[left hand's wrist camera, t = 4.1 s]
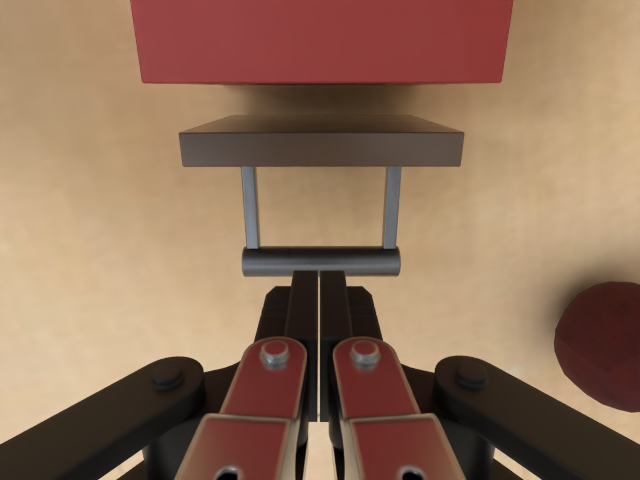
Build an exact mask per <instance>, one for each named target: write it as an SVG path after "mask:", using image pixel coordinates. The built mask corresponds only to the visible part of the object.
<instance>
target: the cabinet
mask: <svg viewBox="0 0 640 480" xmlns="http://www.w3.org/2000/svg"><path fill="white" fill-rule="evenodd" d="M130 2H131V9H132V16H133V23H134V29H135V36H136V43H137V50H138V57H139V64H140V71H141V78H142V82H143V83H155V84H207V83H434V84H473V83H500V82H501V81H502V74H503V67H504V60H505V53H506V46H507V39H508V33H509V26H510V19H511V12H512V5H513V0H130ZM208 85H239V84H208ZM398 85H424V84H398Z"/></svg>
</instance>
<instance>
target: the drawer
mask: <svg viewBox="0 0 640 480" xmlns="http://www.w3.org/2000/svg"><path fill="white" fill-rule="evenodd" d="M207 84H239V85H398V84H434V83H207ZM179 140H180V148H181V157H182V165H183V167H241V173H242V187H243V202H244V216H245V231H246V245H247V246H245V247H244V249H243V253H242V271H243V275H244V276H245V277H293V271H294V270H318V277H320V270H344V272H345V277H364V276H398V275H399V273H400V266H401V258H400V251H399V248H398V247H397V246H396V237H397V222H398V208H399V194H400V179H401V167H459V166H460V165H461V157H462V149H463V141H464V132H461V131H458V130H455V129H451V128H448V127H445V126H442V125H439V124H436V123H433V122H429V121H426V120H423V119H420V118H417V117H414V116H411V115H371V116H229V117H226V118H223V119H220V120H216V121H213V122H210V123H207V124H204V125H201V126H198V127H195V128H192V129H189V130H186V131H183V132H180V133H179ZM256 167H386V177H385V194H384V212H383V230H382V246H260V244H261V243H260V225H259V208H258V190H257V172H256Z"/></svg>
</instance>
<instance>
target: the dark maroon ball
mask: <svg viewBox="0 0 640 480" xmlns="http://www.w3.org/2000/svg"><path fill="white" fill-rule="evenodd" d="M554 349H555V353H556V356H557V359H558V362H559V364H560V366H561V368H562V370H563V372H564V374H565V375H566V376H567V377H568V378H569V379H570V380H571V381H572V382H573V383H574V384H575V385H576V386H578V387H579V388H580V389H581V390H582V391H583V392H584V393H586V394H587V395H588V396H590V397H592V398H593V399H595V400H596V401H598V402H600V403H601V404H603V405H606V406H609V407H612V408H615V409H618V410H622V411H627V412H631V413H632V412H640V284H635V283H629V282H607V283H602V284H597V285H594V286H592V287H591V288H589V289H587V290H585V291H584V292H582V293H580V294H579V295H578V296H577V297H576V298H575V299H574V301H573V302H572V303H571V304H570V305H569V306H568V307H567V308H566V310H565V311H564V313H563V315H562V317H561V319H560V321H559V323H558V325H557V327H556V329H555V339H554Z"/></svg>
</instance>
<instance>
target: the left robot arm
mask: <svg viewBox="0 0 640 480" xmlns="http://www.w3.org/2000/svg"><path fill="white" fill-rule="evenodd" d="M317 391H318V270H294V271H293V278H292V285H291V286H275V287H274V288H273V289H272V290H271V291H270V292H269V293H268V294H267V295H266V298H265V301H264V307H263V309H262V314H261V317H260V321H259V324H258V328H257V332H256V336H255V340H254V343H253V344H251V345H250V346H249V347H248V348H247V349H246V350H245V352H244V354H243V356H242V359H241V361H239V362H238V363H236V364H234V365H231V366H228V367H225V368H222V369H217V370H213V371H208V372H204V371H203V367H202V365H201V364H200V363H199V362H198V361H196V360H194V359H192V358H189V357H179V356H177V357H168V358H164V359H160V360H157V361H155V362H153V363H150V364H148V365H147V366H145V367H143V368H141V369H139V370H137V371H135V372H134V373H132V374H130V375H128V376H126V377H124V378H122V379H121V380H119V381H117V382H115V383H113V384H111V385H110V386H108V387H106V388H104V389H102V390H100V391H98V392H97V393H95V394H93V395H91V396H89V397H87V398H85V399H84V400H82V401H80V402H78V403H76V404H74V405H73V406H71V407H69V408H67V409H65V410H63V411H61V412H60V413H58V414H56V415H54V416H52V417H50V418H48V419H47V420H45V421H43V422H41V423H39V424H37V425H36V426H34V427H32V428H30V429H28V430H26V431H24V432H23V433H21V434H19V435H17V436H15V437H13V438H11V439H10V440H8V441H6V442H4V443H2V444H0V480H98V479H100V478H101V477H103V476H104V475H105V474H107V473H108V472H110V471H111V470H113V469H114V468H116V467H117V466H118V465H120V464H121V463H123V462H124V461H126V460H127V459H128V458H130V457H131V456H133V455H134V454H136V453H137V452H138V451H140V450H141V449H142V452H143V457H144V460H143V461H142V462H140V463H139V464H138V465H136V466H135V467H133V468H132V469H131V470H129V471H128V472H127V473H125V474H124V475H122V476H121V477H120V478H118V479H117V480H305V476H306V468H307V459H308V423H309V422H317ZM320 422H329V437H330V440H331V442H332V459H333V468H334V476H335V480H523V479H522V478H520V477H519V476H518V475H516V474H515V473H513V472H512V471H511V470H509V469H508V468H507V467H505V466H504V465H502V464H501V463H500V462H498V461H497V460H495V459H494V458H493V456H494V451H495V447H496V448H497V449H499V450H500V451H501V452H503V453H504V454H506V455H507V456H509V457H510V458H512V459H513V460H514V461H516V462H517V463H519V464H520V465H522V466H523V467H524V468H526V469H527V470H529V471H530V472H532V473H533V474H534V475H536V476H537V477H539V478H540V479H542V480H640V444H638V443H636V442H634V441H632V440H630V439H629V438H627V437H625V436H623V435H621V434H619V433H617V432H616V431H614V430H612V429H610V428H608V427H606V426H604V425H603V424H601V423H599V422H597V421H595V420H593V419H592V418H590V417H588V416H586V415H584V414H582V413H580V412H579V411H577V410H575V409H573V408H571V407H569V406H567V405H566V404H564V403H562V402H560V401H558V400H556V399H555V398H553V397H551V396H549V395H547V394H545V393H543V392H542V391H540V390H538V389H536V388H534V387H532V386H530V385H529V384H527V383H525V382H523V381H521V380H519V379H518V378H516V377H514V376H512V375H510V374H508V373H506V372H505V371H503V370H501V369H499V368H497V367H495V366H493V365H492V364H490V363H488V362H486V361H483V360H481V359H478V358H474V357H469V356H451V357H447V358H444V359H442V360H441V361H440V362H438V364H437V365H436V368H435V373H433V372H428V371H423V370H419V369H415V368H411V367H408V366H405V365H403V364H401V363H400V361H399V359H398V356H397V354H396V352H395V350H394V349H393V348H392V347H391V346H390V345H389V344H387V343H386V342H384V341H383V339H382V335H381V331H380V327H379V323H378V319H377V315H376V311H375V307H374V303H373V299H372V295H371V294H370V293H369V292H368V291H367V290H366V289H365V288H364V287H362V286H346V279H345V272H344V270H320Z"/></svg>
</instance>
